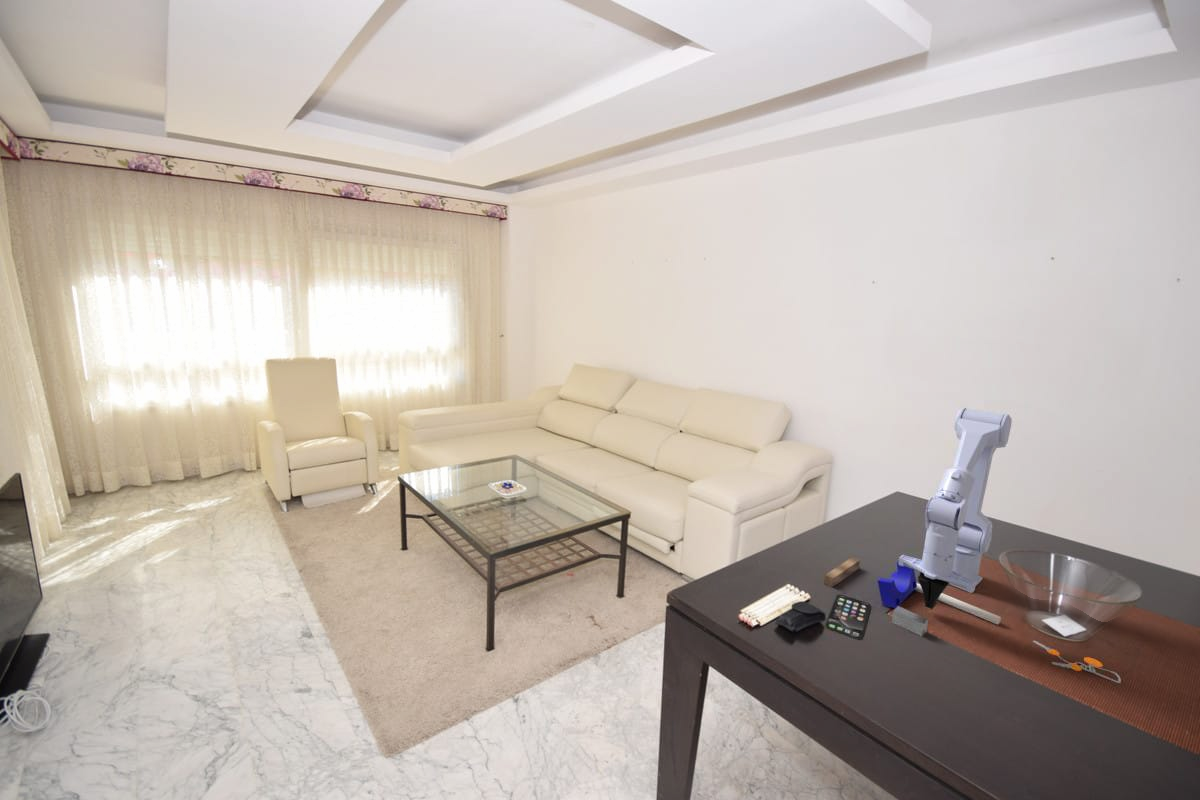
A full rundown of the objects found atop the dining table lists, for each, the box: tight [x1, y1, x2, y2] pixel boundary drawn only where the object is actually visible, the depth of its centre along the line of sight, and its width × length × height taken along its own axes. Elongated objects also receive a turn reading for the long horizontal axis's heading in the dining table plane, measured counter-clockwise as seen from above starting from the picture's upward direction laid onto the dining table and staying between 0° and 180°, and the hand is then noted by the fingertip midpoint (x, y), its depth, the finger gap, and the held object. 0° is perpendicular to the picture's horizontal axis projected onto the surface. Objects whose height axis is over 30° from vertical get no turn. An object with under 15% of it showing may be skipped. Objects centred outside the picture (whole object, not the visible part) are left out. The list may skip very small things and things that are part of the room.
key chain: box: [1032, 640, 1122, 684], centre depth 103 cm, size 13×7×1 cm, turn 53°
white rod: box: [913, 582, 1002, 626], centre depth 122 cm, size 2×21×2 cm, turn 39°
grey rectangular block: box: [891, 605, 929, 637], centre depth 113 cm, size 2×6×3 cm, turn 39°
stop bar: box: [823, 556, 861, 588], centre depth 132 cm, size 14×2×2 cm, turn 129°
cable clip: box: [877, 560, 918, 609], centre depth 123 cm, size 12×4×6 cm, turn 130°
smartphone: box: [824, 594, 872, 641], centre depth 117 cm, size 7×1×15 cm
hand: (930, 606), depth 117 cm, fingers closed
